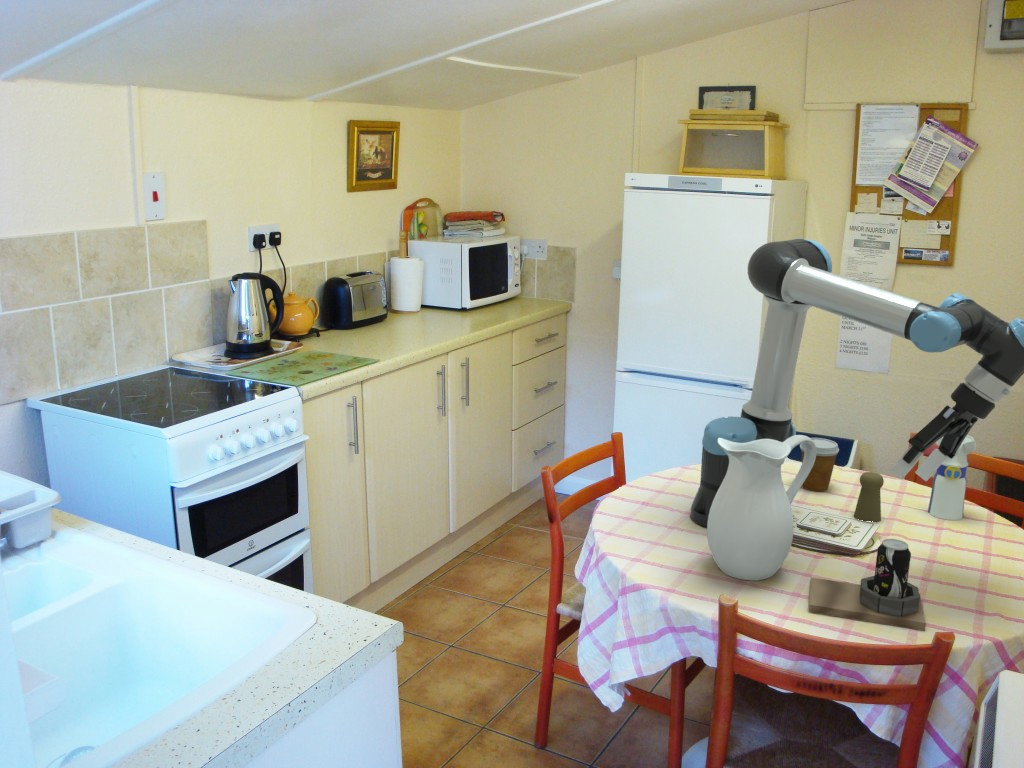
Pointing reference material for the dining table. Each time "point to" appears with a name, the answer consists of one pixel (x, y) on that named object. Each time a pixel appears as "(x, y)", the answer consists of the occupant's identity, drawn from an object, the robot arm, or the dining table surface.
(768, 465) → the pitcher
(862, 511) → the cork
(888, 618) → the socket plate
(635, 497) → the dining table surface
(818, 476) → the disposable coffee cup
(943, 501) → the white tall figurine
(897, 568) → the beverage can
